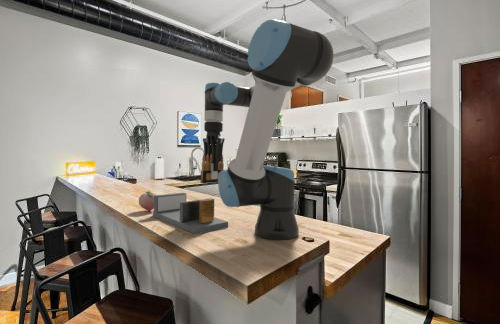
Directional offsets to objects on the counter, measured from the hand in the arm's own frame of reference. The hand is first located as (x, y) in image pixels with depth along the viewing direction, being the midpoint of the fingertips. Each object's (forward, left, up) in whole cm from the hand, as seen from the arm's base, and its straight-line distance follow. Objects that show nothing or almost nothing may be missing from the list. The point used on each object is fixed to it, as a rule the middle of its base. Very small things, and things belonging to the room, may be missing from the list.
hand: (212, 178), depth 109 cm
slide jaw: (-7, +10, -15) cm, 19 cm away
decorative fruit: (+31, +15, -17) cm, 38 cm away
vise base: (+4, +10, -17) cm, 20 cm away
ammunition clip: (0, 0, -2) cm, 2 cm away
